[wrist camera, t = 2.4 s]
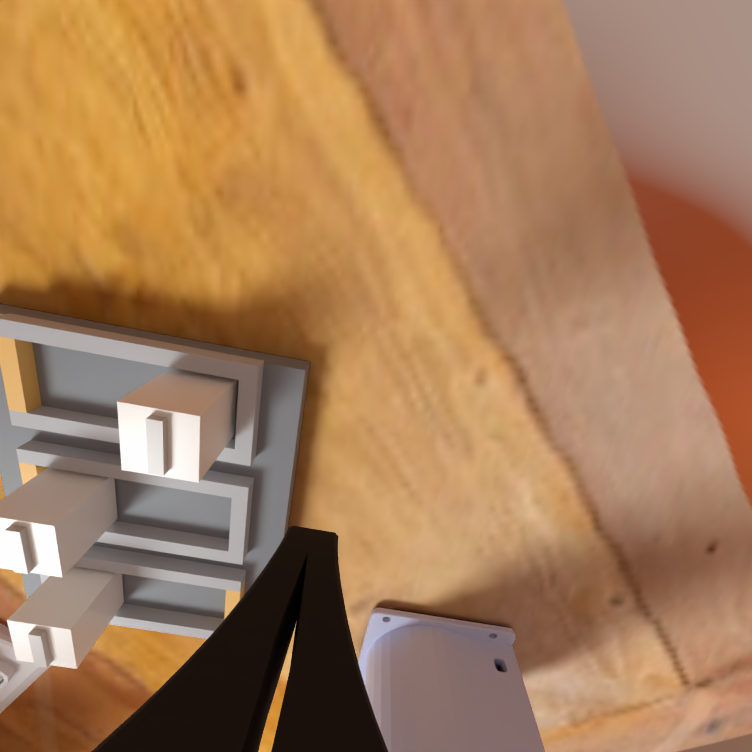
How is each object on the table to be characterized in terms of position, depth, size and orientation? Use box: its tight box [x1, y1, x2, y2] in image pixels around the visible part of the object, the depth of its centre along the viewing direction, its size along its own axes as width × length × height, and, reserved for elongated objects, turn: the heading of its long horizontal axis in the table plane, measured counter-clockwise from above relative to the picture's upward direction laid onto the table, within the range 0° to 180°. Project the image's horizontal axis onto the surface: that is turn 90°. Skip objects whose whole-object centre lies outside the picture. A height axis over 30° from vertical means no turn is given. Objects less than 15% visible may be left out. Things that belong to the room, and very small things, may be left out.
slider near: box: [117, 368, 237, 483], centre depth 16 cm, size 3×3×4 cm
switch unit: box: [0, 304, 310, 639], centre depth 20 cm, size 15×18×2 cm
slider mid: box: [0, 467, 118, 577], centre depth 18 cm, size 3×3×4 cm
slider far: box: [7, 566, 124, 669], centre depth 20 cm, size 3×3×4 cm
